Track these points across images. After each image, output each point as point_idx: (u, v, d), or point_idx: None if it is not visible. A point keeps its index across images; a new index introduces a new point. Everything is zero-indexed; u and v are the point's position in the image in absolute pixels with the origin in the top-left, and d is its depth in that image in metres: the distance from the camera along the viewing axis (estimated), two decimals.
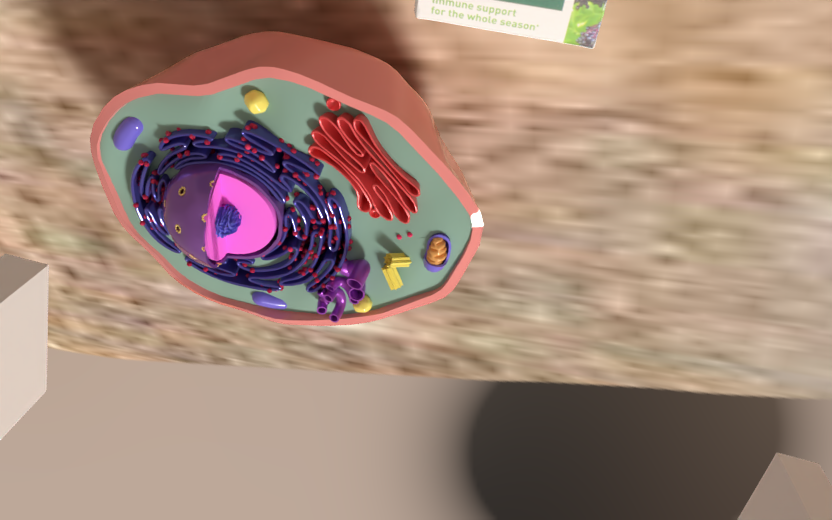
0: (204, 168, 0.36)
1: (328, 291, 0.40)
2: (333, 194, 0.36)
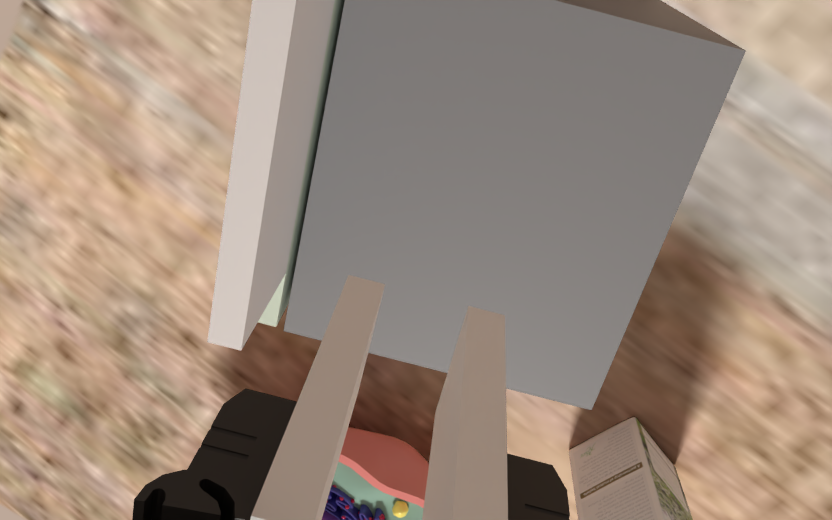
0: (329, 518, 0.47)
1: None
2: None
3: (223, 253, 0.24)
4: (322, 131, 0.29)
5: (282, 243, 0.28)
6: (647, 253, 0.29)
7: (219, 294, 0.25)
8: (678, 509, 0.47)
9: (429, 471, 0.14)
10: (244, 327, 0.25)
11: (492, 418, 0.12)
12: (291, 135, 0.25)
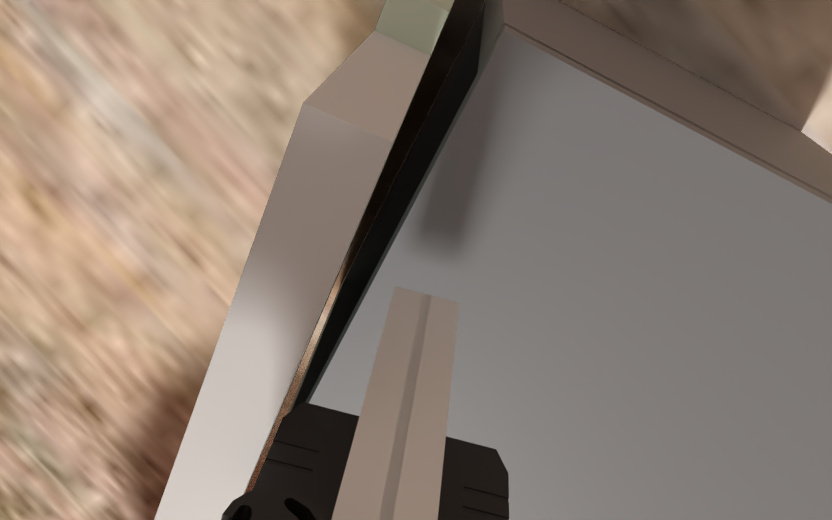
0: None
1: None
2: None
3: None
4: (368, 296, 0.17)
5: (256, 464, 0.17)
6: None
7: None
8: None
9: None
10: None
11: (435, 402, 0.12)
12: None
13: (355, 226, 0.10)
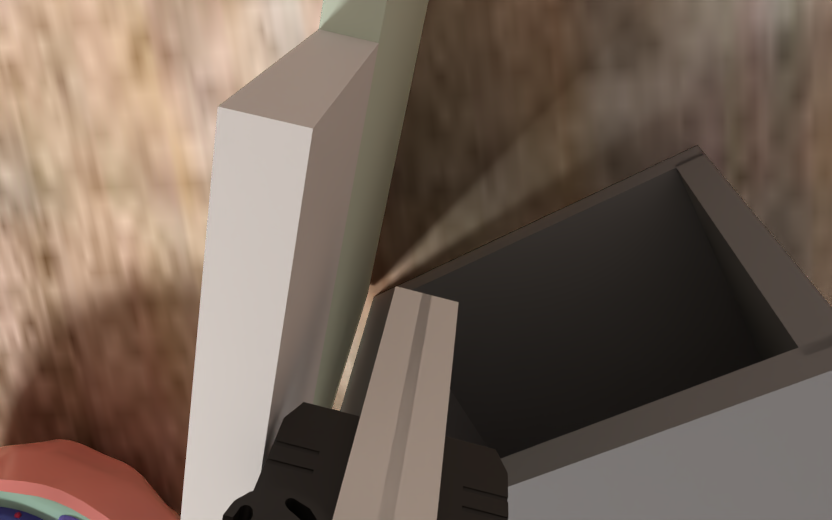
0: None
1: None
2: None
3: None
4: (597, 457, 0.19)
5: None
6: None
7: None
8: None
9: None
10: None
11: (434, 402, 0.12)
12: (303, 344, 0.13)
13: (297, 219, 0.10)
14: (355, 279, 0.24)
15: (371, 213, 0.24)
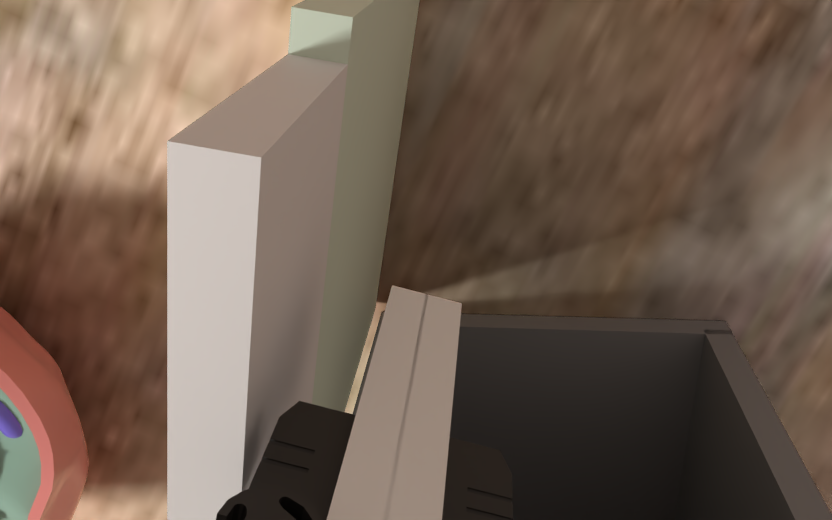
0: None
1: None
2: None
3: None
4: None
5: None
6: None
7: None
8: None
9: None
10: None
11: (438, 403, 0.12)
12: (284, 367, 0.14)
13: (254, 247, 0.10)
14: (353, 296, 0.24)
15: (366, 230, 0.24)
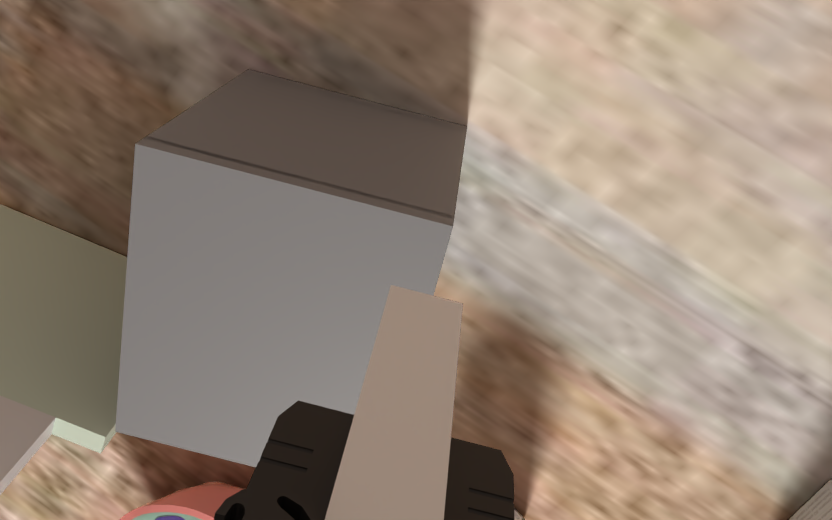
0: None
1: None
2: None
3: None
4: (127, 278, 0.35)
5: None
6: None
7: None
8: None
9: None
10: None
11: (440, 403, 0.12)
12: None
13: None
14: (58, 330, 0.44)
15: (41, 307, 0.45)
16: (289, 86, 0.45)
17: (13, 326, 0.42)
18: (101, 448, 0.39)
